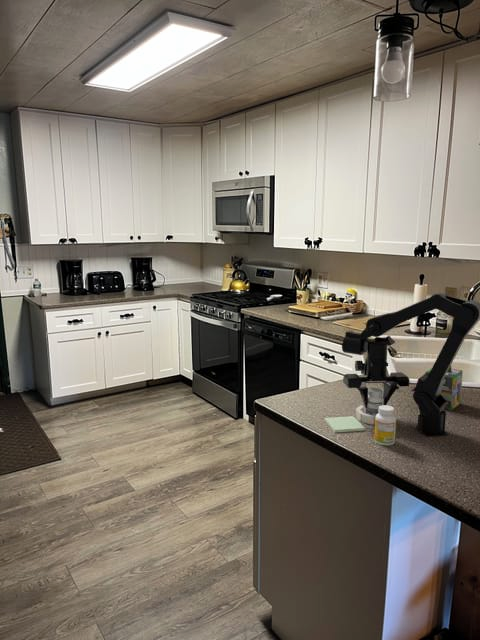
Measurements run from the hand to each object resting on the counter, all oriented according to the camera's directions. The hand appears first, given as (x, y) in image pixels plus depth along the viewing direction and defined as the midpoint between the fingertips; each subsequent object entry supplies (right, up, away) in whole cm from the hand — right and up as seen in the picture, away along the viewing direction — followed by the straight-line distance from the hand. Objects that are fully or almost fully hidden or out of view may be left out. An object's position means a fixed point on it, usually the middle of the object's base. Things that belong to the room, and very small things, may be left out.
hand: (374, 407), depth 146 cm
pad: (-10, -5, -5) cm, 12 cm away
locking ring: (0, -4, +1) cm, 4 cm away
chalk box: (+26, -2, +12) cm, 28 cm away
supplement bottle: (-2, -7, -16) cm, 17 cm away
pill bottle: (0, -4, +1) cm, 4 cm away
